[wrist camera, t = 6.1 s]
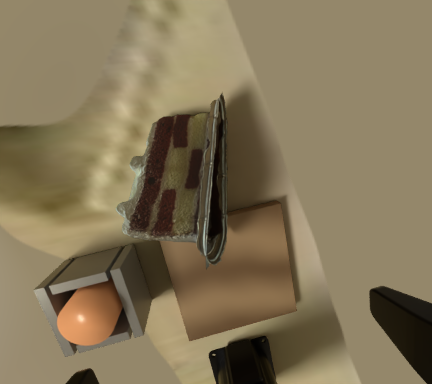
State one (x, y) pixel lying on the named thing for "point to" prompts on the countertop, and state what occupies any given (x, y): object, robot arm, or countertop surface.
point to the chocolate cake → (182, 183)
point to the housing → (92, 274)
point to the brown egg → (90, 314)
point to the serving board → (234, 274)
